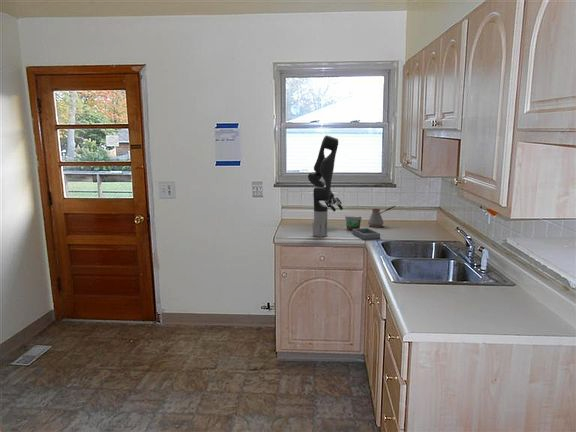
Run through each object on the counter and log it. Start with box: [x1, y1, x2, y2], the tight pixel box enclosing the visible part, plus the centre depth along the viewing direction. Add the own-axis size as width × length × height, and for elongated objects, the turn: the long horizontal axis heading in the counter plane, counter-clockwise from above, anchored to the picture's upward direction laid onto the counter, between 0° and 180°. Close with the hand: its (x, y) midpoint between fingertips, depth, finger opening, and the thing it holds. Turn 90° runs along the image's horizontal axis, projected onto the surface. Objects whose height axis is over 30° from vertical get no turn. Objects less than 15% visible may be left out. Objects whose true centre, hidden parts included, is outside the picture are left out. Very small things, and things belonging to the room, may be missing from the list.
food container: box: [344, 215, 363, 232], centre depth 311 cm, size 12×6×10 cm, turn 62°
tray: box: [351, 227, 381, 241], centre depth 293 cm, size 12×18×4 cm, turn 16°
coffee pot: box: [367, 205, 397, 228], centre depth 324 cm, size 21×12×15 cm, turn 99°
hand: (338, 210), depth 318 cm, fingers open, 8 cm apart
